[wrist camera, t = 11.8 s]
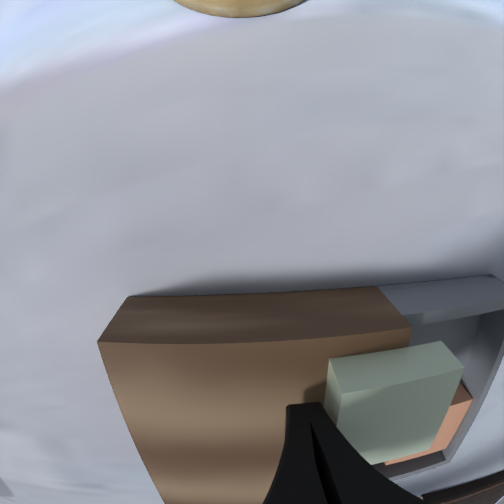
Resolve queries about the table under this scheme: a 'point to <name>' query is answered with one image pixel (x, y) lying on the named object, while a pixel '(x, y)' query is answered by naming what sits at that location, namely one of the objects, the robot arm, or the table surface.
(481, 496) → the hardcover book
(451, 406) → the terracotta tile
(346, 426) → the sage green tile
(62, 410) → the table surface
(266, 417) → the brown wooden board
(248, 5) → the hand bell
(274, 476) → the robot arm
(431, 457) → the grey rimmed tray
